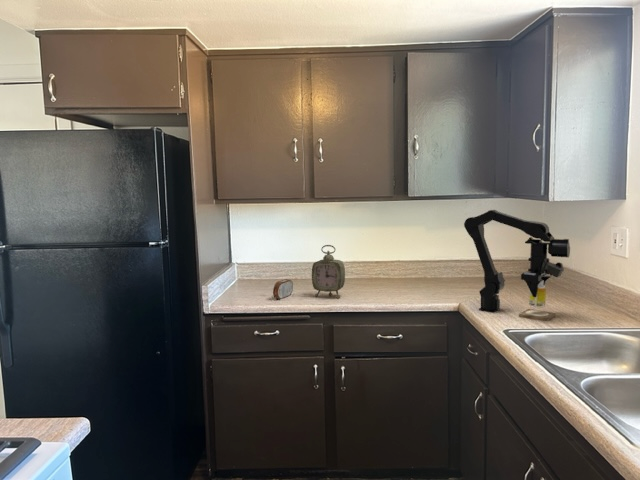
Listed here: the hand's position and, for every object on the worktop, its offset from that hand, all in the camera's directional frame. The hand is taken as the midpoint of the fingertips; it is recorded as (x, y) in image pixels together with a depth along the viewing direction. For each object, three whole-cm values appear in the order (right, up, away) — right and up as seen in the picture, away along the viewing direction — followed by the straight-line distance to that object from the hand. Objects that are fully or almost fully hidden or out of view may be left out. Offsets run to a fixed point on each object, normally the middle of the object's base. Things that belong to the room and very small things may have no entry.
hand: (537, 295), depth 174 cm
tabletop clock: (-79, -6, +42) cm, 90 cm away
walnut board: (0, -8, +1) cm, 8 cm away
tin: (-101, -6, +43) cm, 110 cm away
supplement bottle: (0, -4, 0) cm, 4 cm away
